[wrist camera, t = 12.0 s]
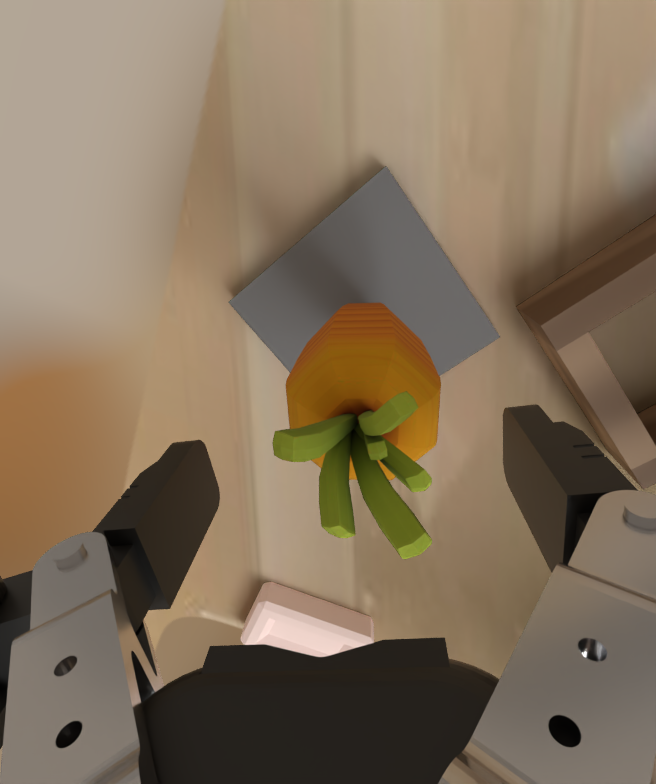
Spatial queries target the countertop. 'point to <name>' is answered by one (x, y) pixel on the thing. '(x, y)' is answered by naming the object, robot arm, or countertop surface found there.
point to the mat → (367, 280)
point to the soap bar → (304, 623)
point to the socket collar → (582, 356)
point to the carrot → (364, 419)
